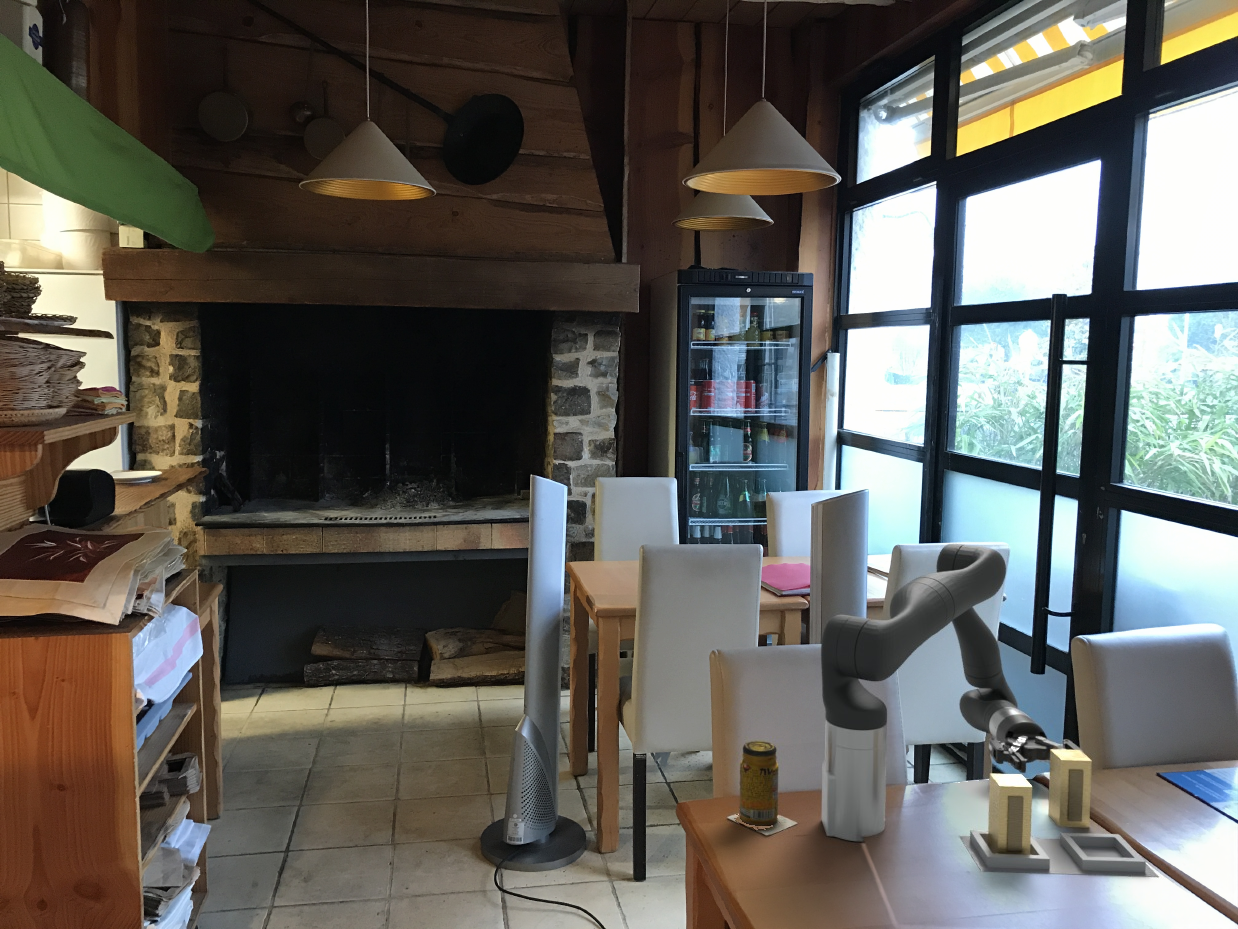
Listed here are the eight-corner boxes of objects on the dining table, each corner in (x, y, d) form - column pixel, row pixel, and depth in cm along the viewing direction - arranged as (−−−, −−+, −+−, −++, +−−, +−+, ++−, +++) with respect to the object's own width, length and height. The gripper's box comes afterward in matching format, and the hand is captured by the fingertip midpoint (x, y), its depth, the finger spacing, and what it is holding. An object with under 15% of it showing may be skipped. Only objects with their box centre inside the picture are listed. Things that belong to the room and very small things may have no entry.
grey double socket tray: (980, 878, 137) (981, 861, 137) (958, 842, 148) (959, 826, 148) (1158, 883, 136) (1159, 866, 135) (1123, 847, 147) (1123, 830, 146)
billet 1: (998, 862, 140) (1000, 786, 139) (987, 846, 145) (989, 773, 144) (1030, 863, 139) (1033, 787, 139) (1019, 847, 144) (1021, 774, 143)
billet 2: (1059, 830, 151) (1062, 760, 150) (1048, 817, 156) (1050, 749, 155) (1089, 831, 151) (1092, 761, 150) (1077, 818, 155) (1079, 750, 155)
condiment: (757, 806, 161) (758, 735, 160) (798, 824, 154) (799, 749, 154) (726, 819, 156) (727, 745, 156) (766, 837, 150) (767, 760, 149)
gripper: (977, 712, 177) (1006, 744, 161) (1058, 714, 176) (1096, 746, 160) (975, 753, 177) (1005, 789, 161) (1056, 755, 176) (1094, 791, 160)
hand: (1050, 768), depth 160 cm, fingers open, 8 cm apart
